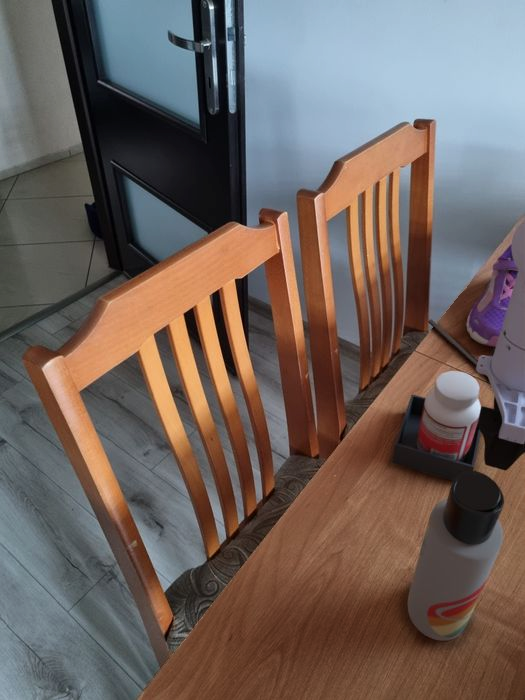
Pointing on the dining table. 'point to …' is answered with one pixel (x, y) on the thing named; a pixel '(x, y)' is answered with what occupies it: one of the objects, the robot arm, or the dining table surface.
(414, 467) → the box
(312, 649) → the dining table surface
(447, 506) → the black capped bottle
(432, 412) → the pill bottle
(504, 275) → the running shoe
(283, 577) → the dining table surface
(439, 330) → the rod
